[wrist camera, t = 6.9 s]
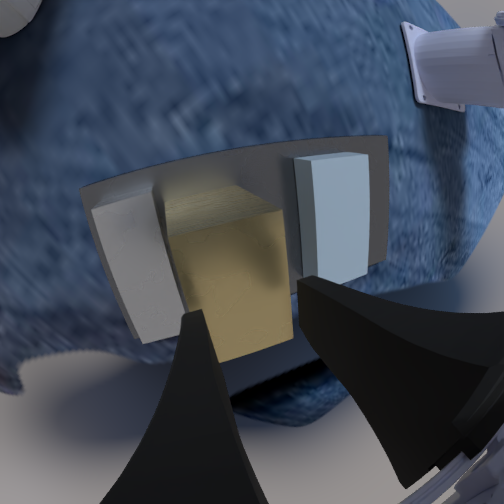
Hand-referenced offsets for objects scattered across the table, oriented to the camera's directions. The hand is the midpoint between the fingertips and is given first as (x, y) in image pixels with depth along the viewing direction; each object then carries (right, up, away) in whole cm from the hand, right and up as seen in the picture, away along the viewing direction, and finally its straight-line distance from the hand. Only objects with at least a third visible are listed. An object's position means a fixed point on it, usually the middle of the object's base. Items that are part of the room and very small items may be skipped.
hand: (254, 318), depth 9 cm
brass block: (-2, +3, +6) cm, 7 cm away
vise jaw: (+5, +5, +8) cm, 10 cm away
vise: (+1, +4, +8) cm, 9 cm away
